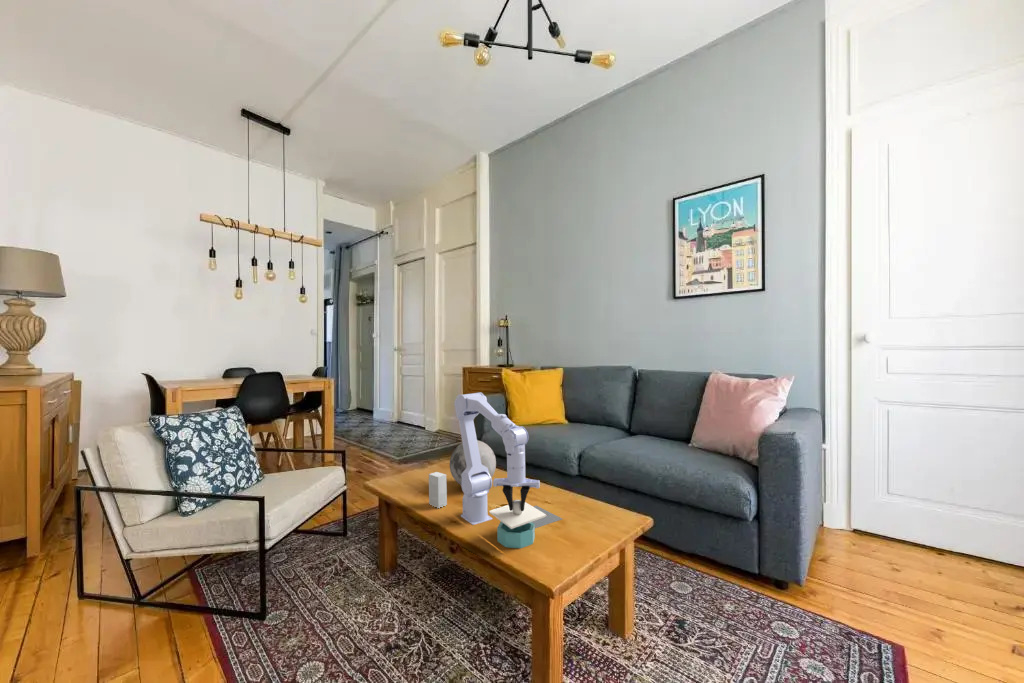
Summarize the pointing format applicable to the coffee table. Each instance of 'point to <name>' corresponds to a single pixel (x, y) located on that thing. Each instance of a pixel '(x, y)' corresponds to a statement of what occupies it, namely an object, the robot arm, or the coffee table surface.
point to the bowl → (516, 535)
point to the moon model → (460, 463)
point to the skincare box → (437, 489)
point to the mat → (545, 518)
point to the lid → (517, 514)
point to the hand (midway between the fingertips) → (516, 509)
